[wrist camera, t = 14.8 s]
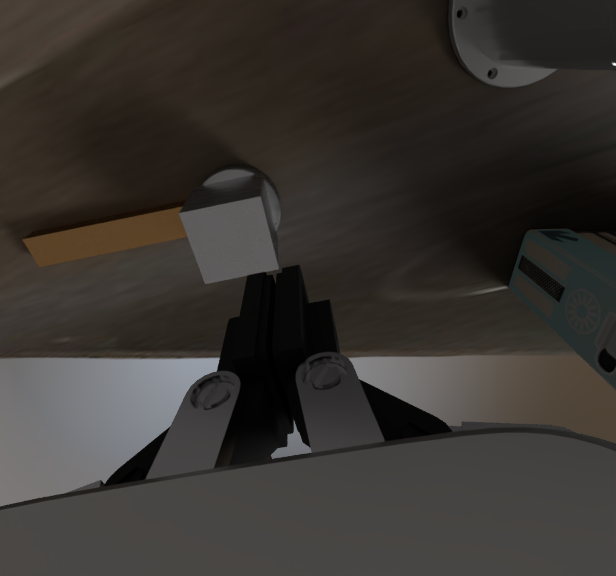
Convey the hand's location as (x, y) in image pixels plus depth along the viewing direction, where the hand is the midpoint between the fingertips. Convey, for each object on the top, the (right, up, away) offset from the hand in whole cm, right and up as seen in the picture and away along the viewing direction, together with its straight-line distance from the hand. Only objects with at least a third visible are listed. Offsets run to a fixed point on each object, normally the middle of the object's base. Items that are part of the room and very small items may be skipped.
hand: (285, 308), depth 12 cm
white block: (-6, +8, +24) cm, 25 cm away
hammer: (-14, +7, +26) cm, 30 cm away
